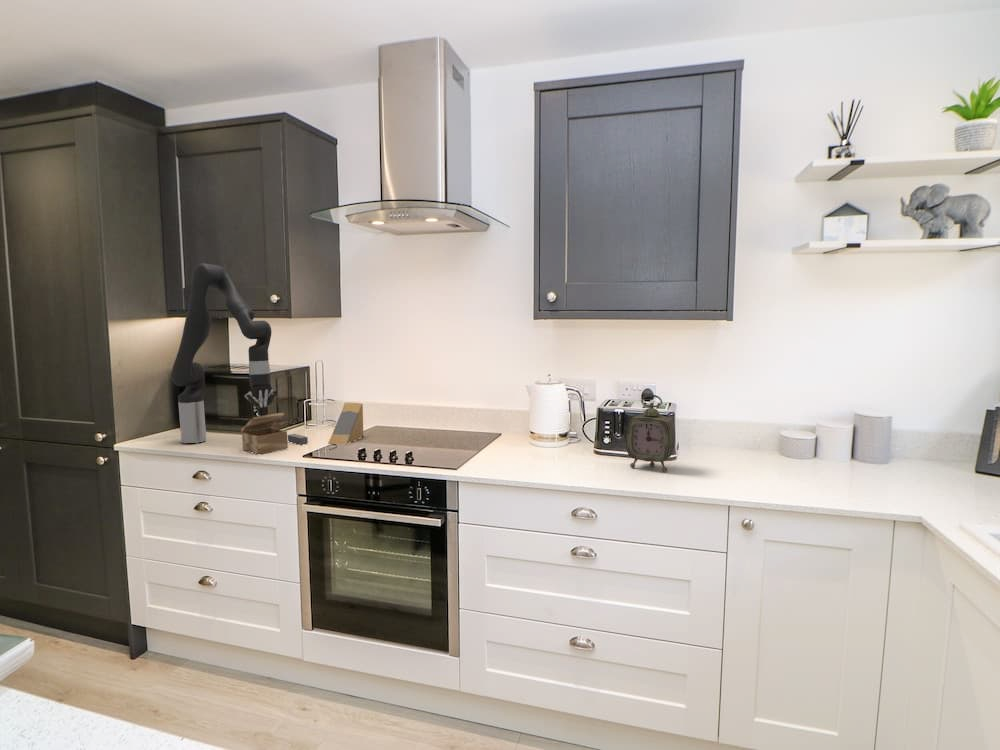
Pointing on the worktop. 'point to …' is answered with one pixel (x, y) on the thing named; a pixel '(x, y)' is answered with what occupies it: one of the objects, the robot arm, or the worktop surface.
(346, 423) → the sandwich container
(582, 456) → the worktop surface
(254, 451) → the carton
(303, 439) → the gray rectangular block
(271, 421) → the lid
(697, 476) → the worktop surface
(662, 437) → the tabletop clock
